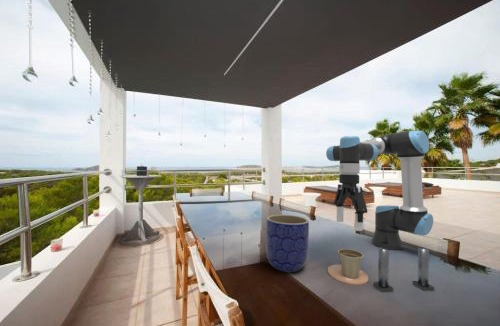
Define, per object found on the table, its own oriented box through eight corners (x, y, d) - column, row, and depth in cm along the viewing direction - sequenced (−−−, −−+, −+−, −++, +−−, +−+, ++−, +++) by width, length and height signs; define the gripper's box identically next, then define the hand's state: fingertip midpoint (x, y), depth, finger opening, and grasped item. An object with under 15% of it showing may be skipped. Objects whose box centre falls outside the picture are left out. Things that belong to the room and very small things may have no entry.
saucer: (353, 266, 96) (353, 264, 96) (377, 284, 81) (377, 281, 81) (321, 267, 95) (321, 264, 95) (339, 285, 80) (339, 282, 80)
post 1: (384, 284, 81) (384, 247, 82) (393, 291, 77) (393, 251, 77) (373, 285, 81) (374, 247, 81) (381, 291, 77) (382, 251, 77)
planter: (281, 280, 82) (282, 225, 83) (257, 261, 99) (258, 215, 99) (317, 271, 91) (318, 221, 91) (289, 255, 107) (290, 213, 108)
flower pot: (333, 269, 91) (333, 248, 91) (354, 269, 92) (354, 248, 92) (344, 281, 81) (345, 257, 82) (368, 280, 82) (368, 257, 82)
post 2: (423, 284, 83) (423, 246, 83) (434, 290, 79) (434, 251, 79) (412, 284, 83) (413, 246, 83) (423, 290, 78) (423, 251, 79)
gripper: (326, 173, 101) (326, 218, 101) (358, 174, 76) (358, 235, 76) (341, 173, 102) (341, 218, 102) (378, 175, 77) (378, 235, 77)
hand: (348, 225), depth 89 cm, fingers open, 13 cm apart
